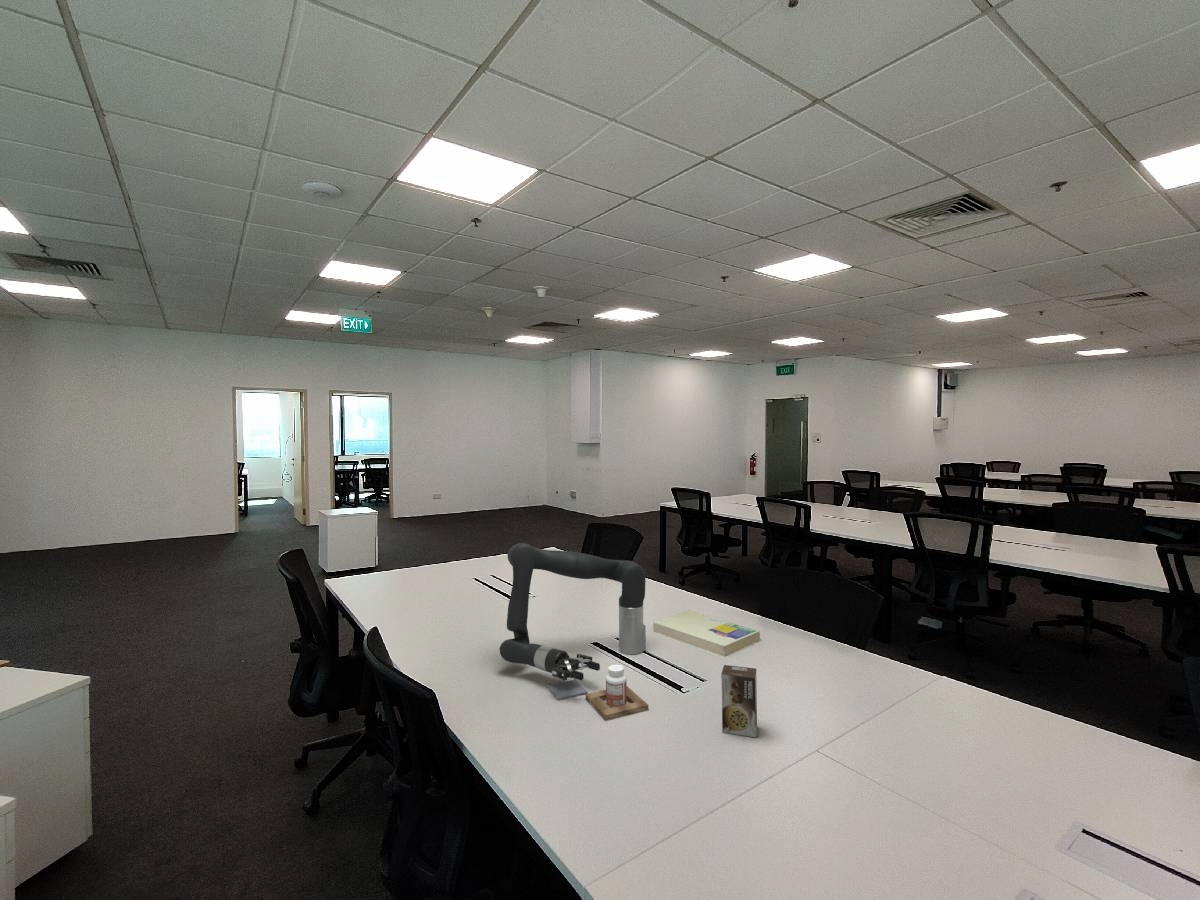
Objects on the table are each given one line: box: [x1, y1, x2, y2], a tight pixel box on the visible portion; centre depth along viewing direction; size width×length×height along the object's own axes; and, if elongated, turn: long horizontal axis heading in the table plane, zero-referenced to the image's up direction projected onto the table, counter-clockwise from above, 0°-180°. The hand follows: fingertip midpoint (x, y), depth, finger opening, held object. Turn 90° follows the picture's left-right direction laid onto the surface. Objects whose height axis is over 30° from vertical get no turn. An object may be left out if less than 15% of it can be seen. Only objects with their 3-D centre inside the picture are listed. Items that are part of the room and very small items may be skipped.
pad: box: [546, 678, 589, 701], centre depth 169 cm, size 10×10×1 cm
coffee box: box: [720, 664, 758, 738], centre depth 145 cm, size 9×6×16 cm
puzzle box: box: [652, 610, 761, 657], centre depth 216 cm, size 36×5×24 cm
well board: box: [585, 685, 649, 722], centre depth 159 cm, size 14×14×2 cm
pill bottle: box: [605, 664, 628, 708], centre depth 159 cm, size 6×6×11 cm
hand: (591, 672), depth 165 cm, fingers open, 8 cm apart
